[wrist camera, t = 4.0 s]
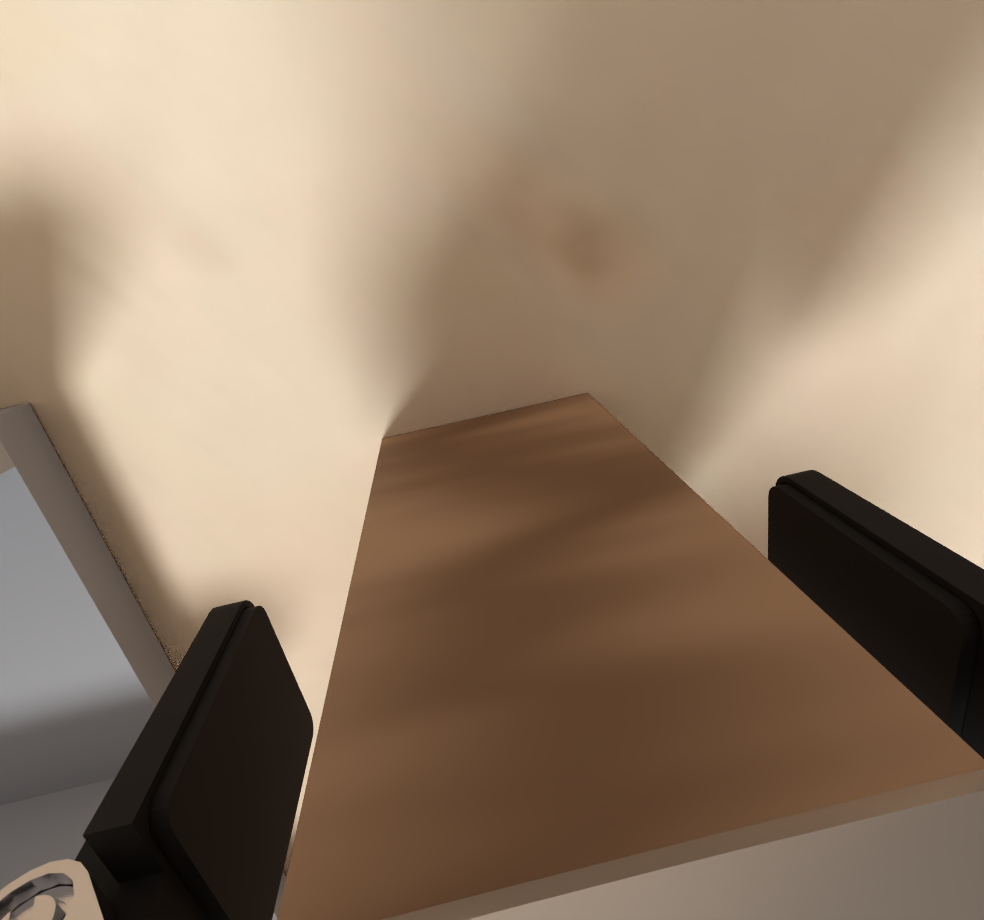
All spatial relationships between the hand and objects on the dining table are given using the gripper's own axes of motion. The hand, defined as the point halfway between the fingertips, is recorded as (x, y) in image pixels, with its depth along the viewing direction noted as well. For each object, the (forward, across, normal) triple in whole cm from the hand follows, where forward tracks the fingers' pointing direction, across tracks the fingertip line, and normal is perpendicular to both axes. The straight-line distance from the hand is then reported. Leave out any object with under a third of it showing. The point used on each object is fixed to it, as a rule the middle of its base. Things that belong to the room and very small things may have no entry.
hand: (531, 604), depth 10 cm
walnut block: (+4, 0, 0) cm, 4 cm away
